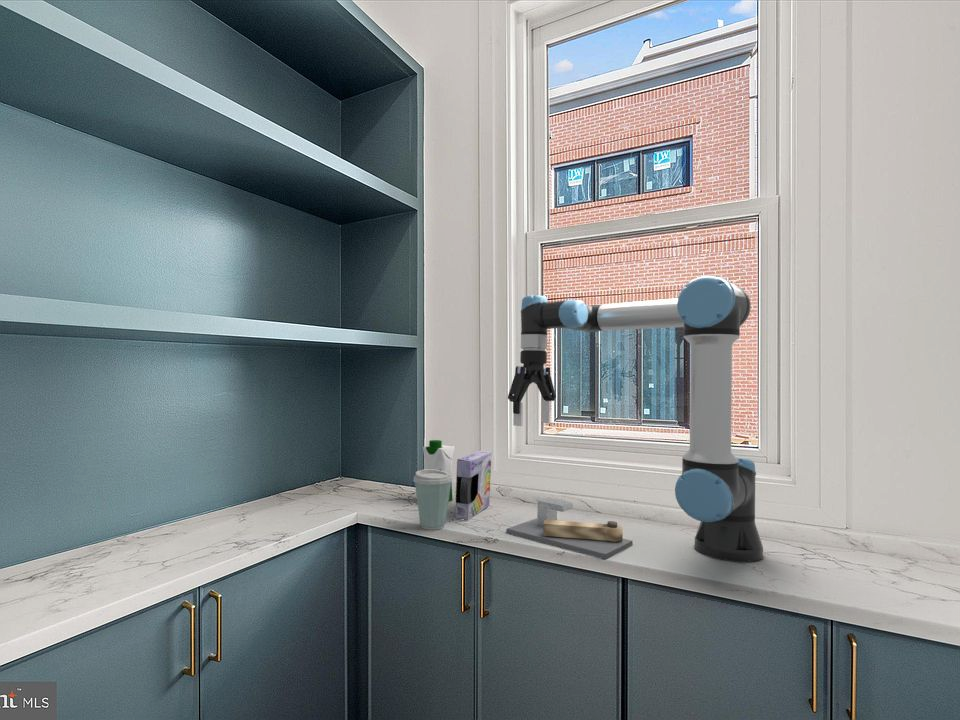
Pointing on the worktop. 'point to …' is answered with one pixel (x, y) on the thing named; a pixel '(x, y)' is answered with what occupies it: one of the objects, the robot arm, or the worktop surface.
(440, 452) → the milk carton
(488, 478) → the cake pan box
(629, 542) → the board
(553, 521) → the brass link
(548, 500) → the block
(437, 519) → the disposable coffee cup
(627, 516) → the worktop surface
